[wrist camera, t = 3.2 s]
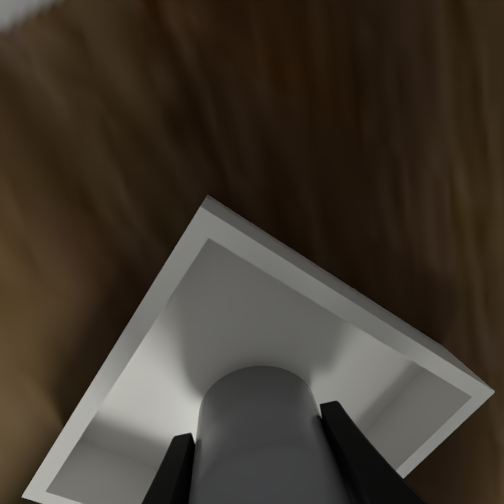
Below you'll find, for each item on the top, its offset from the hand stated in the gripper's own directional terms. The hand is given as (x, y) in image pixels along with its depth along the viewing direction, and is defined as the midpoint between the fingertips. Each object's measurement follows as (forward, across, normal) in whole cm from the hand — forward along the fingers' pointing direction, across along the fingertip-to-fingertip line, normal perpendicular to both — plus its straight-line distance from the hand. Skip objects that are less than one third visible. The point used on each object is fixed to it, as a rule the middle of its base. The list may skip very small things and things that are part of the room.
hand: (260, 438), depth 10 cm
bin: (+2, 0, 0) cm, 2 cm away
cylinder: (+1, 0, 0) cm, 1 cm away
